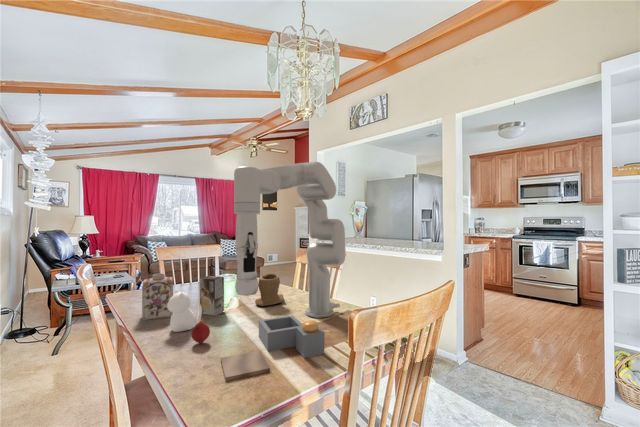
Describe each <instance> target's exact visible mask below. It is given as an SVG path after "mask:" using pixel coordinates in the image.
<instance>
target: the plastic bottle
mask: <svg viewBox="0 0 640 427" xmlns="http://www.w3.org/2000/svg"><path fill="white" fill-rule="evenodd" d="M254 245H255V242H254ZM246 247H249V245H246ZM254 247H255V246H254ZM254 250H255V271H254V272H244V271H243V258H245V257H244V246H242V248H239V247H238V242H236V244H235V253H236V254H235V255H236V264H237V265H236V266H237V272H236V280H235V286H234V288H235V291H236V292H235V293H236V294H237V295H239V296H246V297H249V296H252V295H253V296H254V295H256V294H257V293H258V290H259V285H258V283H259V278H258V272H257V256H258V252H259V251H258V250H259V244H258V242H257V246H256V247H255V248H254Z"/></svg>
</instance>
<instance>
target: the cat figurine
mask: <svg viewBox="0 0 640 427" xmlns="http://www.w3.org/2000/svg"><path fill="white" fill-rule="evenodd" d="M191 303H192V301H191V298H190V295H189V294H187V293H186V292H183V291H180V290H179V289H175V291H174V293H173V296H172V297H171V298H170V300H169V302H168V305H167V308H168V310H169V311H171V312H173V313H172V316H171V317H170V322H169V326H170V330H172V332H174V333H181V332H184V331H190V330H192V329H193V328H194V326H195V325H196V324H198V323H199V321H200V320H202V319H201V318H202V315H203V314H202V307H201V305H200V302H198V303H196V306H197V317H196V316H195V313H194V312H193V311H192V310H191V308H190V307H191Z"/></svg>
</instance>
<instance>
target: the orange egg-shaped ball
mask: <svg viewBox="0 0 640 427" xmlns="http://www.w3.org/2000/svg"><path fill="white" fill-rule="evenodd" d="M301 323H302V330H303V331H304V332H315V331H317V330H318V327H319V324H318V321H316V320H309V319H308V320H304V321H302V322H301Z"/></svg>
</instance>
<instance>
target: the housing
mask: <svg viewBox="0 0 640 427" xmlns="http://www.w3.org/2000/svg"><path fill="white" fill-rule="evenodd" d="M302 323H303V322H301V321H300V320H299V319H298V318H296V317H295V315H294V314H292V315H291V314H290V315H286V316H278V317H272V318H264V319H258V338H259V339H260V341H261V343H262V344H263V346H264V348H265V349H266V351H267V352H272V351H277V350H282V349H289V348H293V347H295V349H296V350H297V352H298V353H299V354H300V355H301V356H302V358H303V359H306V358H307V359H308V358H311V357H316V356H320V355H321V356H322V355H325V331H324V329H322V328H320V326H318V330H317V331H315V332H304V331H303V330H302Z"/></svg>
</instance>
